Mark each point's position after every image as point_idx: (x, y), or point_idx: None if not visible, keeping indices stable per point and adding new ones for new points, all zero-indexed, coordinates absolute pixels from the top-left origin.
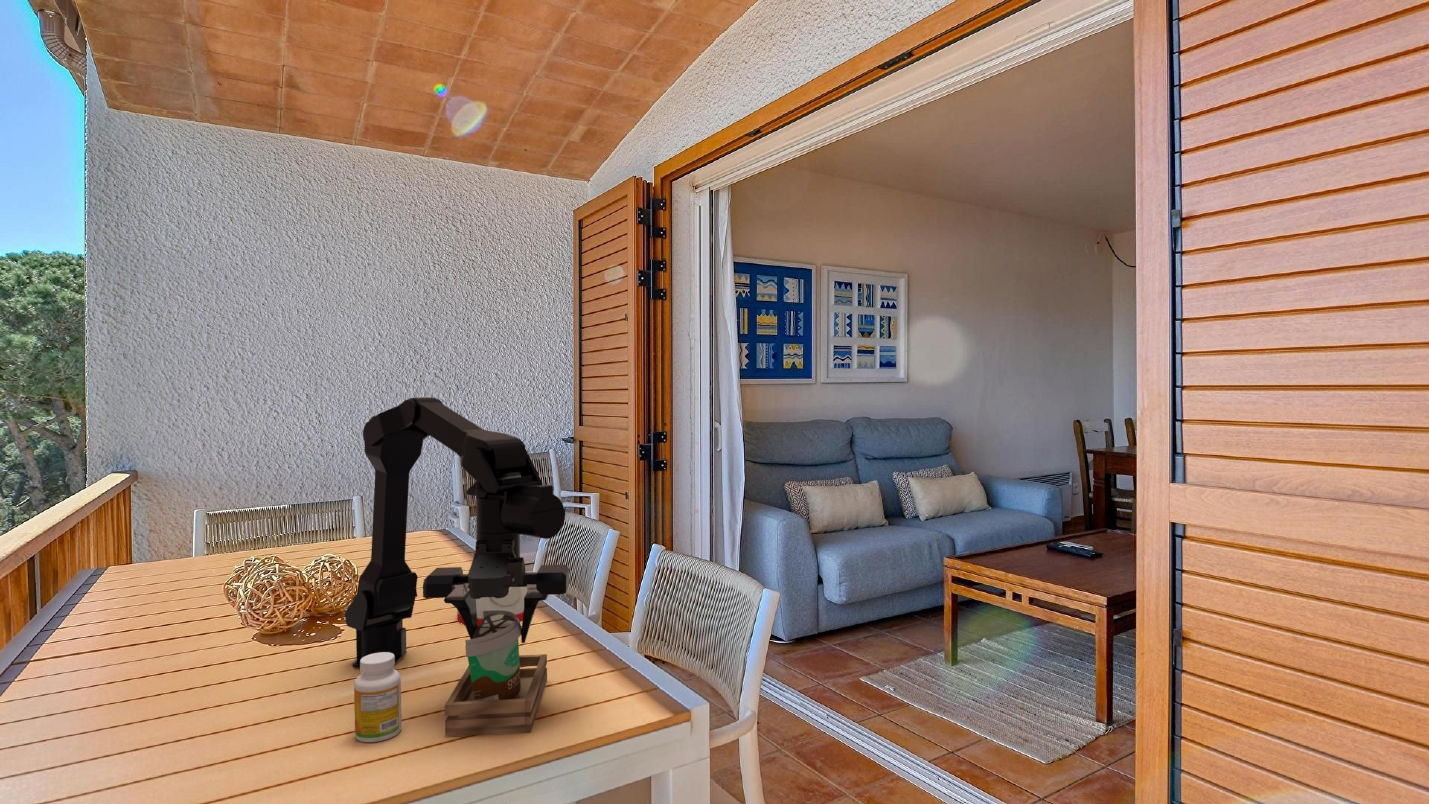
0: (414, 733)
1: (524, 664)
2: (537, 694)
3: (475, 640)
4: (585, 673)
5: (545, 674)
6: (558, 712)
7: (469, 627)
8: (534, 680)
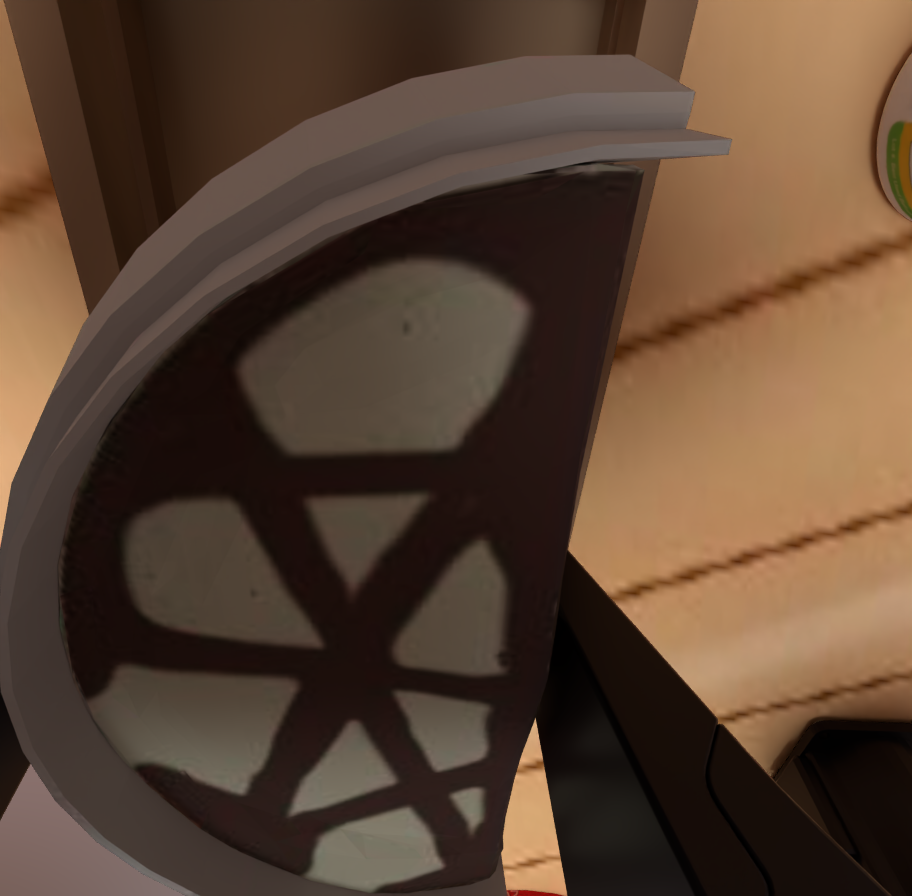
0: (808, 63)
1: None
2: None
3: (523, 150)
4: None
5: None
6: (41, 199)
7: (632, 666)
8: None
